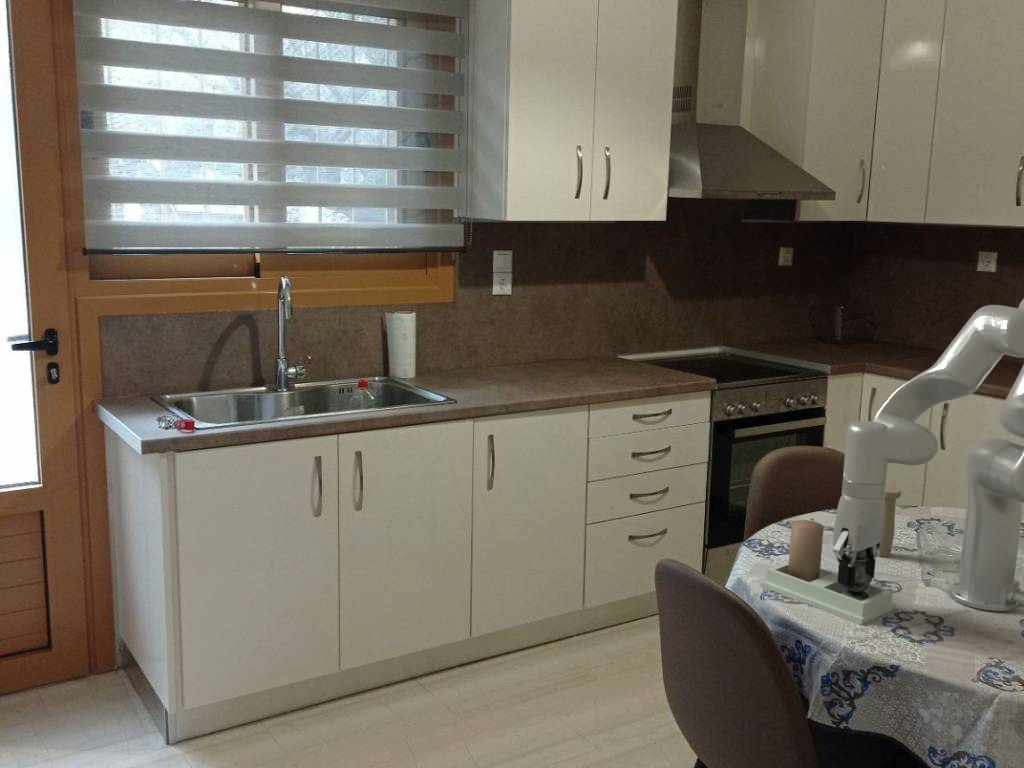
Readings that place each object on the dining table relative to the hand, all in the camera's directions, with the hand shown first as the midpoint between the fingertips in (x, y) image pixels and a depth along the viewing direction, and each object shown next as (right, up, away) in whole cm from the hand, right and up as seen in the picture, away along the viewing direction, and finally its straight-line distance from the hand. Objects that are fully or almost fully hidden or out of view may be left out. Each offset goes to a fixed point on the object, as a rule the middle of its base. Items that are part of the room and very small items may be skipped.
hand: (855, 579), depth 187 cm
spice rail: (-4, -4, +5) cm, 8 cm away
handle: (+16, 0, +29) cm, 32 cm away
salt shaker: (0, -3, +1) cm, 3 cm away
